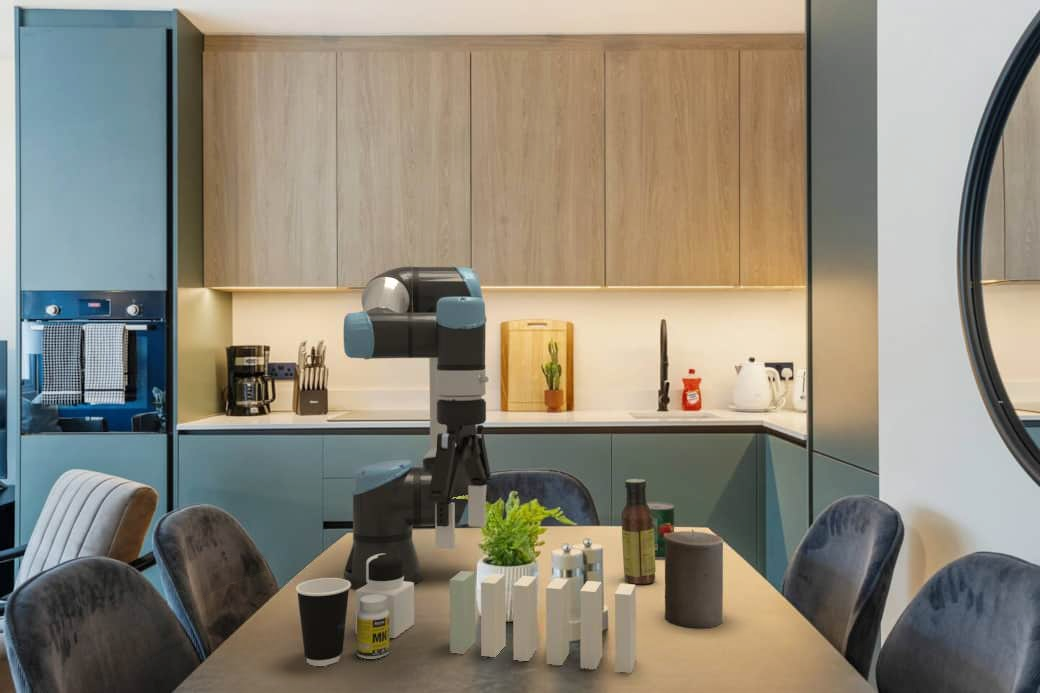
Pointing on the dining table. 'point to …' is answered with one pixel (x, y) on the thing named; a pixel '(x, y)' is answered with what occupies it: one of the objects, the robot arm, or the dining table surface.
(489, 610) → the domino
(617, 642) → the domino
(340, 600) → the dixie cup
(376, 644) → the supplement bottle
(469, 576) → the grey-green tall block
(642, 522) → the sauce bottle
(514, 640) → the domino
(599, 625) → the domino
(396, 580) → the white bottle
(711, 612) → the pillar candle
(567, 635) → the domino
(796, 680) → the dining table surface
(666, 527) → the canned tomato
